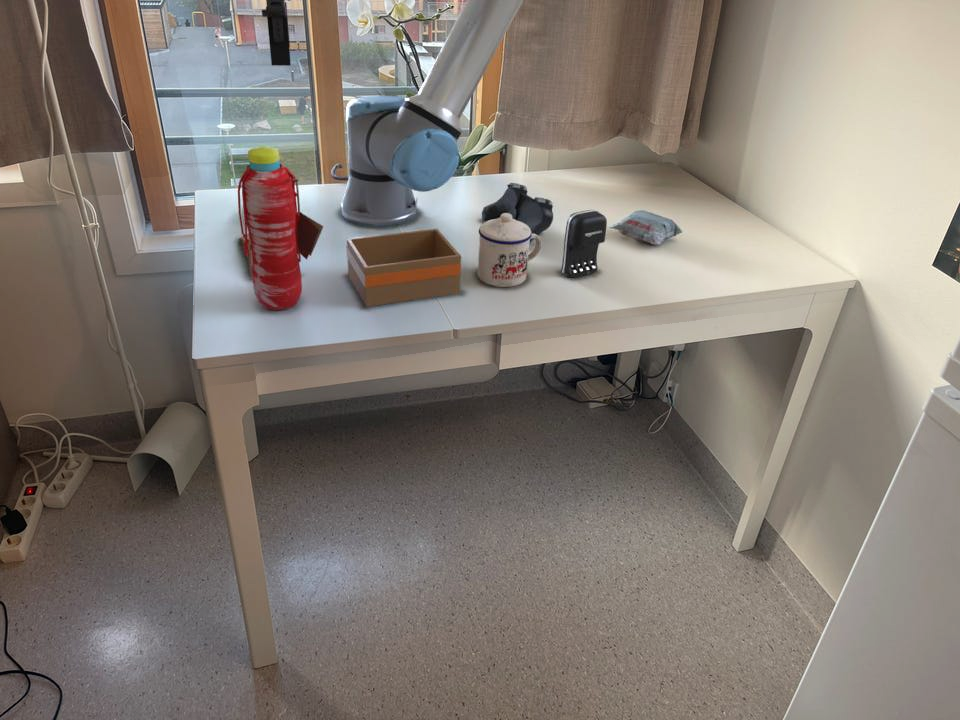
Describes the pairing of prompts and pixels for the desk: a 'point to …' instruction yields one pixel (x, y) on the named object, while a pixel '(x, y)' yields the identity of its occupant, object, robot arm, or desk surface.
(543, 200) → the binoculars
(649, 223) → the packaged food
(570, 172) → the desk surface
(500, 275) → the teacup with lid
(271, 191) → the water bottle
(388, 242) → the wooden box
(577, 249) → the battery charger
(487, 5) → the robot arm
